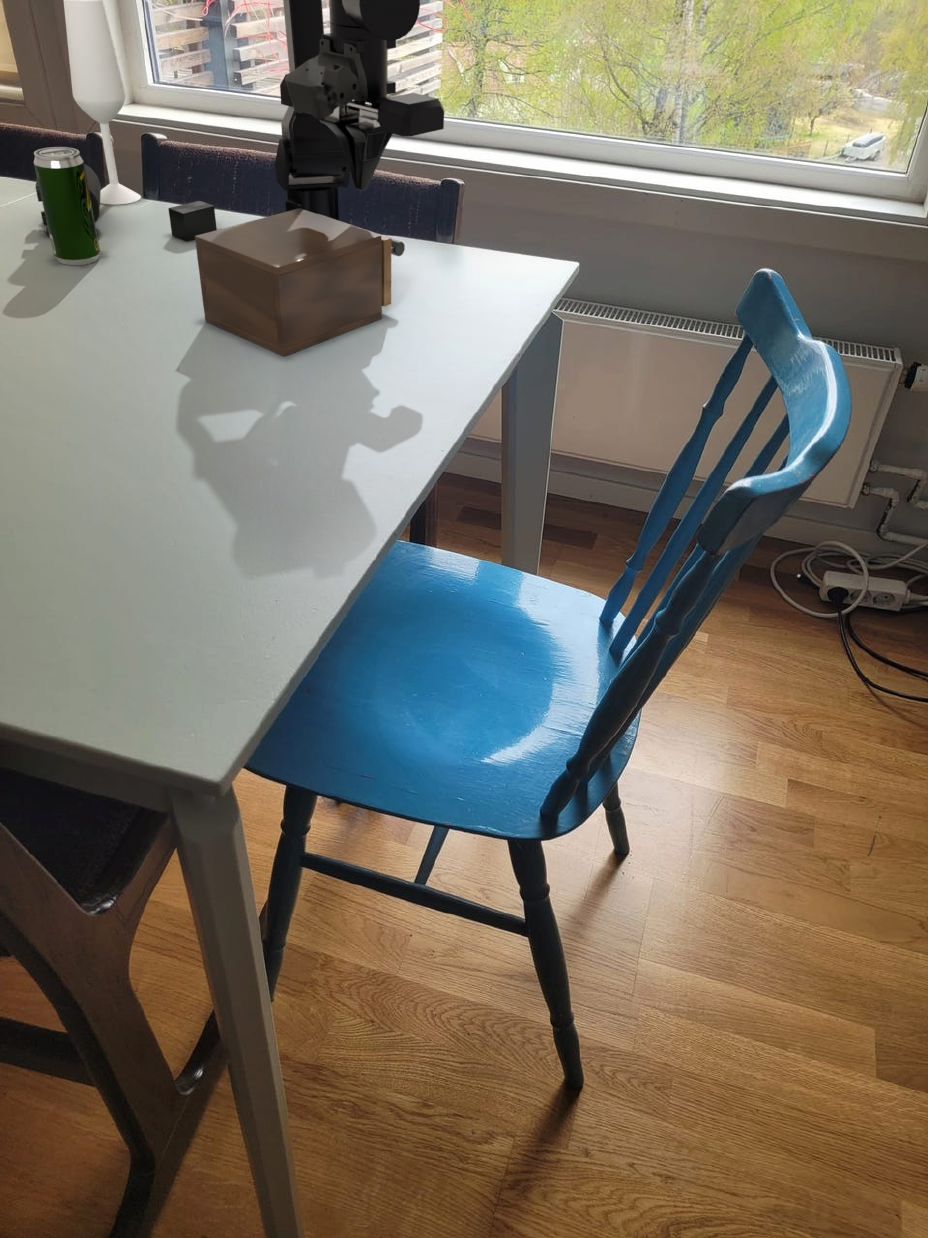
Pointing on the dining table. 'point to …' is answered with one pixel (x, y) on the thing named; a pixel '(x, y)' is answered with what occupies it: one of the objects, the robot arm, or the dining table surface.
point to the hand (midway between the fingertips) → (361, 189)
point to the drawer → (387, 263)
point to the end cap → (93, 191)
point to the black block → (192, 220)
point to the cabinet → (290, 279)
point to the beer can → (67, 205)
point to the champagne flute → (97, 81)
